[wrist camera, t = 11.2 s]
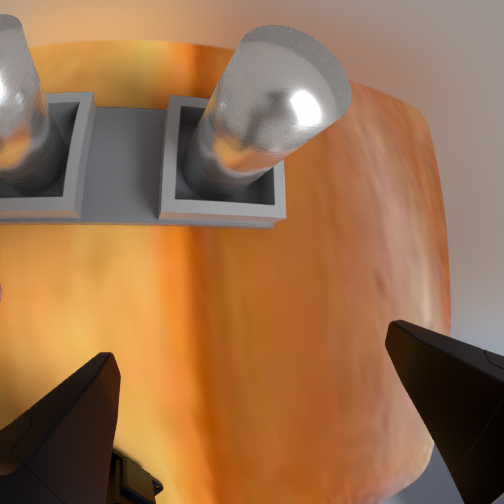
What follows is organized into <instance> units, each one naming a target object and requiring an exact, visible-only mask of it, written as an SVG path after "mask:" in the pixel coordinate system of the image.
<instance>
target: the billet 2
mask: <svg viewBox="0 0 504 504" xmlns="http://www.w3.org/2000/svg"><path fill="white" fill-rule="evenodd" d="M350 103H351V86H350V83H349V79H348V77H347V74H346V72H345V71H344V68H343V67H342V65H341V64H340V62H339V61H338V60H337V58H336V57H335V56H334V55H333V54H332V53H331V52H330V51H329V50H328V49H327V48H326V47H325V46H324V45H323V44H321V43H320V42H318V41H317V40H316V39H314V38H312V37H311V36H309V35H307V34H305V33H303V32H301V31H298V30H296V29H293V28H289V27H284V26H276V25H270V26H262V27H259V28H256V29H254V30H252V31H250V32H249V33H247V34H246V35H245V36H244V37H243V39H242V41H241V42H240V44H239V46H238V48H237V49H236V51H235V53H234V55H233V57H232V58H231V60H230V62H229V64H228V66H227V68H226V69H225V71H224V73H223V75H222V77H221V79H220V81H219V83H218V85H217V87H216V89H215V90H214V92H213V94H212V96H211V98H210V100H209V102H208V104H207V106H206V109H205V111H204V113H203V115H202V117H201V119H200V121H199V123H198V125H197V127H196V130H195V132H194V134H193V136H192V138H191V140H190V143H189V145H188V147H187V149H186V152H185V154H184V156H183V160H182V172H183V176H184V179H185V181H186V183H187V184H188V186H189V187H190V188H191V189H192V190H193V191H194V192H195V193H196V194H198V195H199V196H201V197H203V198H206V199H209V200H214V201H222V200H227V199H230V198H233V197H234V196H236V195H237V194H239V193H240V192H241V191H243V190H244V189H245V188H246V187H248V186H249V185H250V184H252V183H253V182H254V181H255V180H257V179H258V178H259V177H261V176H262V175H263V174H264V173H266V172H267V171H268V170H270V169H271V168H272V167H274V166H275V165H276V164H278V163H279V162H280V161H282V160H283V159H284V158H286V157H287V156H288V155H290V154H291V153H292V152H294V151H295V150H296V149H298V148H299V147H300V146H302V145H303V144H305V143H306V142H307V141H309V140H310V139H311V138H313V137H314V136H316V135H317V134H318V133H320V132H321V131H323V130H324V129H325V128H327V127H328V126H330V125H331V124H332V123H334V122H335V121H337V120H338V119H339V118H341V117H342V116H343V115H344V114H345V113H346V112H347V110H348V108H349V106H350Z"/></svg>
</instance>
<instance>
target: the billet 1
mask: <svg viewBox="0 0 504 504" xmlns="http://www.w3.org/2000/svg"><path fill="white" fill-rule="evenodd" d="M66 162H67V148H66V144H65V142H64V140H63V137H62V135H61V133H60V131H59V128H58V126H57V124H56V121H55V119H54V117H53V114H52V112H51V109H50V107H49V104H48V102H47V99H46V97H45V94H44V92H43V89H42V86H41V84H40V81H39V78H38V75H37V72H36V70H35V67H34V64H33V61H32V58H31V55H30V51H29V48H28V45H27V42H26V38H25V35H24V32H23V28H22V25H21V22H20V21H19V20H18V19H17V18H16V17H14V16H12V15H7V14H6V15H5V14H3V15H0V179H2V180H3V181H4V182H5V183H7V184H8V185H9V186H10V187H12V188H13V189H14V190H15V191H17V192H18V193H20V194H22V195H27V196H33V195H38V194H41V193H43V192H45V191H47V190H48V189H49V188H51V187H52V186H53V185H54V184H55V183H56V182H57V181H58V179H59V178H60V177H61V175H62V173H63V171H64V169H65V166H66Z"/></svg>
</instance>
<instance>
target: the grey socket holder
mask: <svg viewBox="0 0 504 504" xmlns="http://www.w3.org/2000/svg"><path fill="white" fill-rule="evenodd" d="M45 97H46V99H47V102H48V104H49V107H50V109H51V112H52V114H53V117H54V119H55V121H56V124H57V126H58V128H59V131H60V133H61V135H62V137H63V140H64V142H65V144H66V148H67V162H66V166H65V169H64V171H63V173H62V175H61V177H60V178H59V179H58V181H57V182H56V183H55V184H54V185H53V186H52V187H51V188H49V189H48V190H47V191H45V192H43V193H41V194H38V195H33V196H27V195H22V194H20V193H18V192H17V191H15V190H14V189H13V188H12V187H10V186H9V185H8V184H7V183H5V182H4V181H3V180H2V179H0V225H12V224H80V225H146V226H185V227H216V228H243V229H266V230H269V229H272V228H274V223H275V222H277V221H280V220H283V219H285V218H286V199H285V176H284V159H283V160H282V161H280V162H279V163H278V164H276V165H275V166H274V167H272V168H271V169H270V170H268V171H267V172H266V173H264V174H263V175H262V176H261V177H259V178H258V179H257V180H255V181H254V182H253V183H252V184H250V185H249V186H248V187H246V188H245V189H244V190H243V191H241V192H240V193H239V194H237V195H236V196H234V197H233V198H230V199H227V200H222V201H214V200H209V199H206V198H203V197H201V196H199V195H198V194H196V193H195V192H194V191H193V190H192V189H191V188H190V187H189V186H188V184H187V183H186V181H185V179H184V176H183V172H182V160H183V156H184V154H185V152H186V149H187V147H188V145H189V143H190V140H191V138H192V136H193V134H194V132H195V130H196V127H197V125H198V123H199V121H200V119H201V117H202V115H203V113H204V111H205V109H206V106H207V104H208V102H209V100H210V99H204V98H195V97H186V96H176V95H170V98H169V101H168V105H167V109H166V110H161V109H146V108H122V107H96V105H95V98H94V92H68V93H50V94H45Z"/></svg>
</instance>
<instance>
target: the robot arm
mask: <svg viewBox="0 0 504 504" xmlns="http://www.w3.org/2000/svg"><path fill="white" fill-rule="evenodd" d="M385 346H386V349H387V351H388V354H389V356H390V358H391V360H392V363H393V365H394V367H395V369H396V372H397V374H398V376H399V378H400V380H401V382H402V384H403V386H404V388H405V390H406V391H407V393H408V395H409V397H410V398H411V400H412V402H413V404H414V405H415V407H416V409H417V411H418V413H419V414H420V416H421V418H422V420H423V422H424V424H425V425H426V427H427V429H428V431H429V433H430V435H431V437H432V439H433V440H434V442H435V444H436V446H437V448H438V450H439V452H440V454H441V456H442V458H443V460H444V462H445V464H446V466H447V468H448V470H449V472H450V473H451V476H452V478H453V480H454V482H455V485H456V487H457V489H458V491H459V493H460V495H461V497H462V500H463V502H464V504H493V503H495V502H496V501H497V500H498V499H500V497H502V496H503V495H504V356H501V355H498V354H495V353H492V352H489V351H487V350H483V349H481V348H478V347H475V346H473V345H470V344H467V343H464V342H461V341H459V340H456V339H453V338H450V337H448V336H445V335H442V334H439V333H437V332H434V331H431V330H428V329H426V328H423V327H420V326H417V325H415V324H412V323H409V322H406V321H404V320H396V321H392V322H390V324H389V326H388V331H387V336H386V340H385ZM120 381H121V376H120V371H119V368H118V366H117V363H116V360H115V357H114V355H113V354H112V353H111V352H100V353H99V354H97V355H96V356H95V357H93V358H92V359H91V360H90V361H88V362H87V363H86V364H85V365H83V366H82V367H81V368H79V369H78V370H77V371H76V372H74V373H73V374H72V375H71V376H69V377H68V378H67V379H66V380H64V381H63V382H62V383H61V384H59V385H58V386H57V387H56V388H54V389H53V390H52V391H51V392H49V393H48V394H47V395H46V396H44V397H43V398H42V399H41V400H39V401H38V402H37V403H36V404H34V405H33V406H32V407H31V408H30V409H28V410H27V411H26V412H24V413H23V414H22V415H21V416H19V417H18V418H17V419H15V420H14V421H13V422H12V423H10V424H9V425H7V426H6V427H4V428H3V429H2V430H0V504H156V501H155V496H156V495H157V494H158V493H160V492H161V491H162V490H163V485H162V483H161V482H159V481H158V480H156V479H154V478H153V477H151V474H150V473H148V472H147V471H145V470H144V469H142V468H141V467H139V466H138V465H137V464H135V463H134V462H132V461H131V460H130V459H128V458H126V457H123V456H121V455H120V454H119V453H117V452H116V451H115V450H114V449H112V448H113V442H114V436H115V430H116V425H117V418H118V405H119V392H120ZM155 486H159V487H155Z"/></svg>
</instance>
